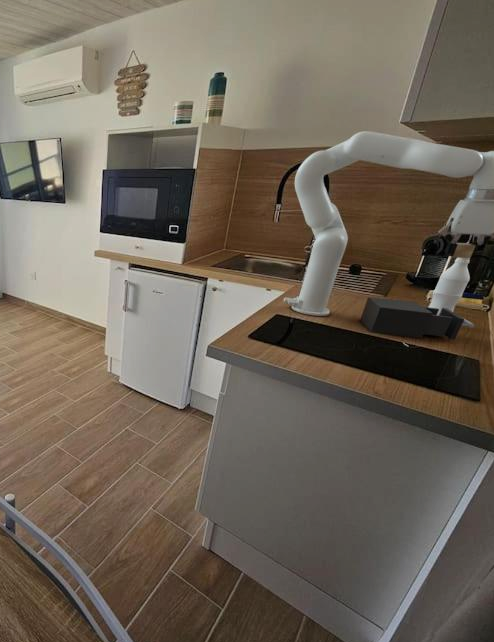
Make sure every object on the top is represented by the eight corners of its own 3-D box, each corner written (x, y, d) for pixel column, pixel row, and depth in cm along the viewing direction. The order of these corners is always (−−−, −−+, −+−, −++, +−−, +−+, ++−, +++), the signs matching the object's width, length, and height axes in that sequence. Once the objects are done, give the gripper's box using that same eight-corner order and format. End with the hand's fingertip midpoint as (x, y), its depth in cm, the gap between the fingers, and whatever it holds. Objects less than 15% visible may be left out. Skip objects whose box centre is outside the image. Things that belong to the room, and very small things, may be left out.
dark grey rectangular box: (406, 325, 134) (416, 302, 130) (421, 338, 124) (433, 313, 120) (359, 320, 139) (368, 297, 135) (371, 331, 129) (380, 307, 125)
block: (453, 257, 117) (458, 244, 116) (446, 254, 121) (451, 242, 119) (470, 258, 116) (475, 245, 114) (462, 255, 119) (468, 243, 118)
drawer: (454, 329, 128) (463, 310, 125) (472, 342, 119) (483, 321, 116) (392, 322, 134) (400, 303, 132) (405, 333, 125) (414, 313, 122)
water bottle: (436, 318, 140) (466, 253, 130) (454, 326, 133) (486, 257, 124) (416, 318, 141) (444, 252, 131) (432, 325, 134) (463, 257, 124)
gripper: (514, 195, 111) (486, 256, 118) (441, 194, 117) (418, 252, 124) (532, 196, 105) (502, 260, 112) (454, 195, 111) (429, 256, 118)
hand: (458, 255), depth 118 cm, fingers closed on block, 4 cm apart
